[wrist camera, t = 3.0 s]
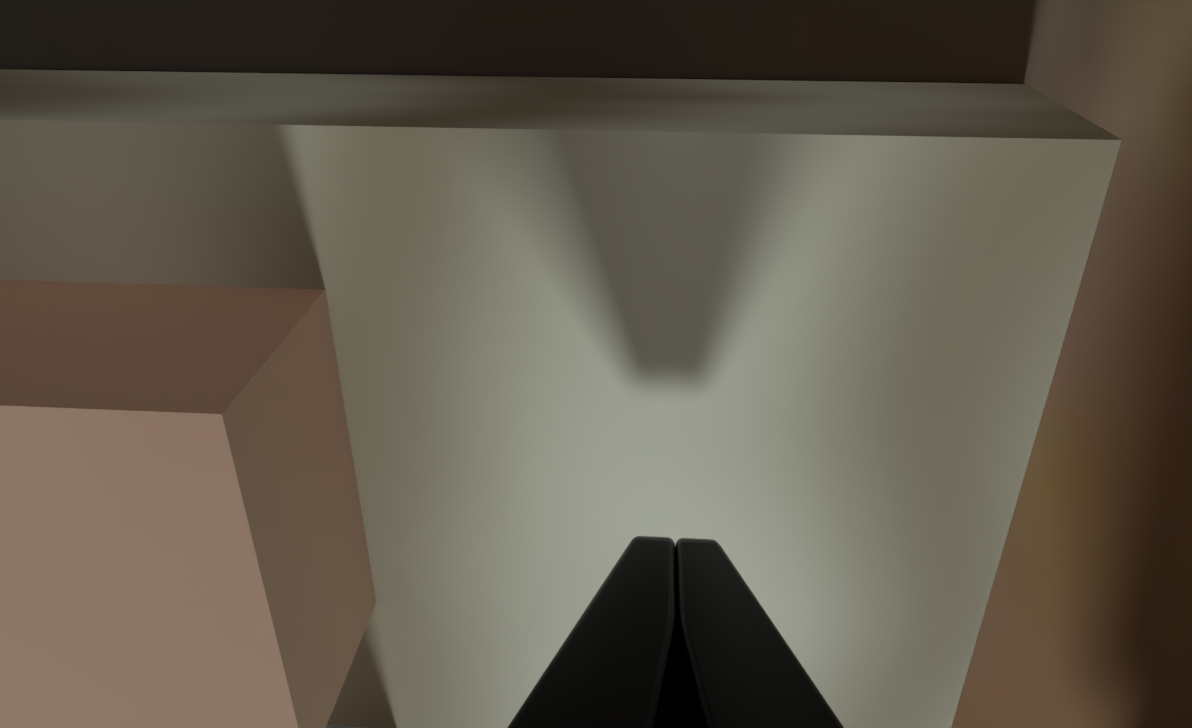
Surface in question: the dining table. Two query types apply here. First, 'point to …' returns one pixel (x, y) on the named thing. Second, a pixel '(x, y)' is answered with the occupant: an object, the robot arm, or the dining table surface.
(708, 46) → the dining table surface
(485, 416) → the board
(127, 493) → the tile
